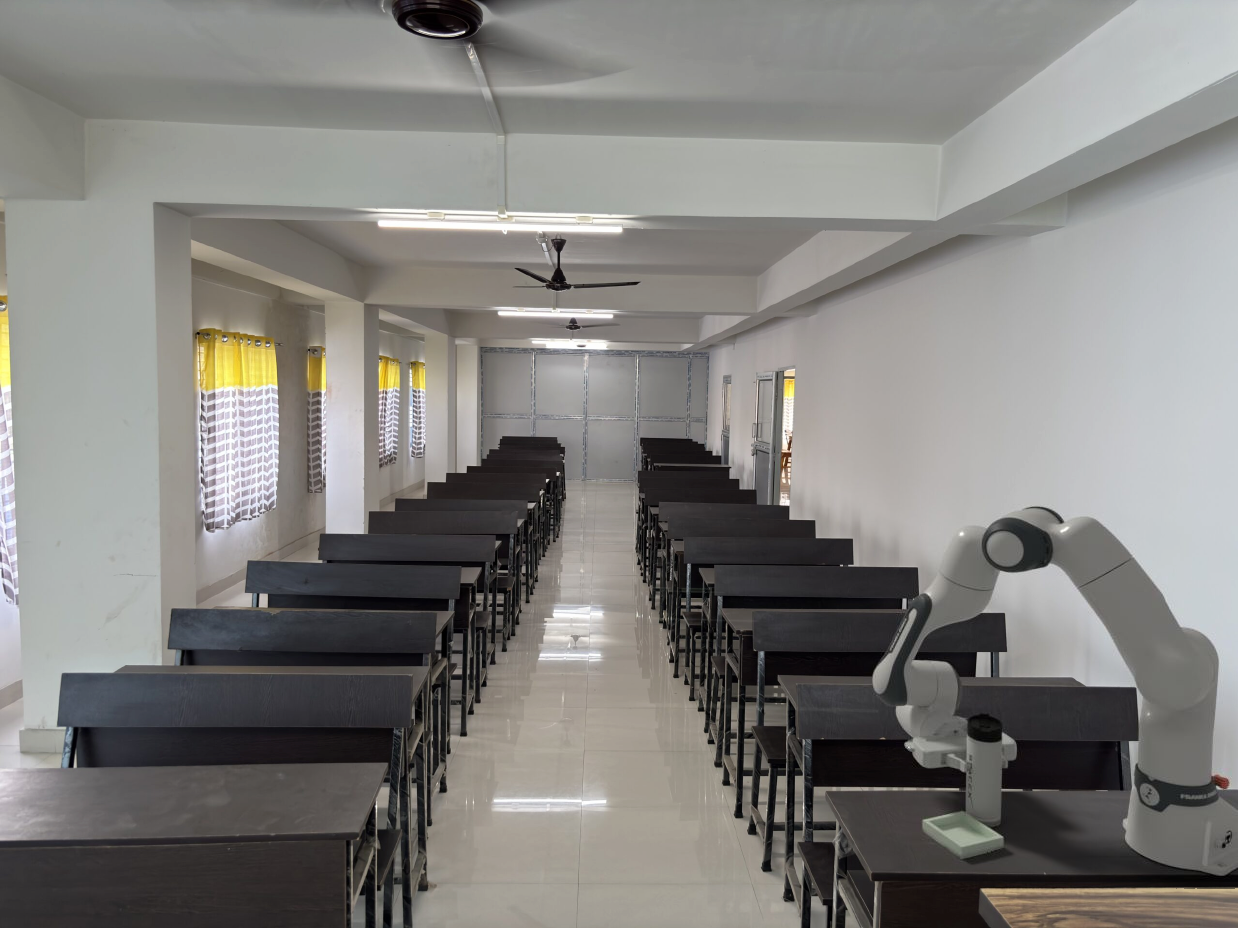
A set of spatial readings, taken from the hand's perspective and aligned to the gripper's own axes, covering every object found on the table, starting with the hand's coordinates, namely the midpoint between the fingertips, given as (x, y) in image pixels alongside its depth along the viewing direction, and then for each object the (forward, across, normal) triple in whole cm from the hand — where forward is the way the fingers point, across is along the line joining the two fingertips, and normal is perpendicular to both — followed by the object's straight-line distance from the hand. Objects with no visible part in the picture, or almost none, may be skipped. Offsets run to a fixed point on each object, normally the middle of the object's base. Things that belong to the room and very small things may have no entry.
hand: (986, 766), depth 162 cm
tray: (+5, -8, +11) cm, 15 cm away
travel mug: (-1, 0, +11) cm, 11 cm away
